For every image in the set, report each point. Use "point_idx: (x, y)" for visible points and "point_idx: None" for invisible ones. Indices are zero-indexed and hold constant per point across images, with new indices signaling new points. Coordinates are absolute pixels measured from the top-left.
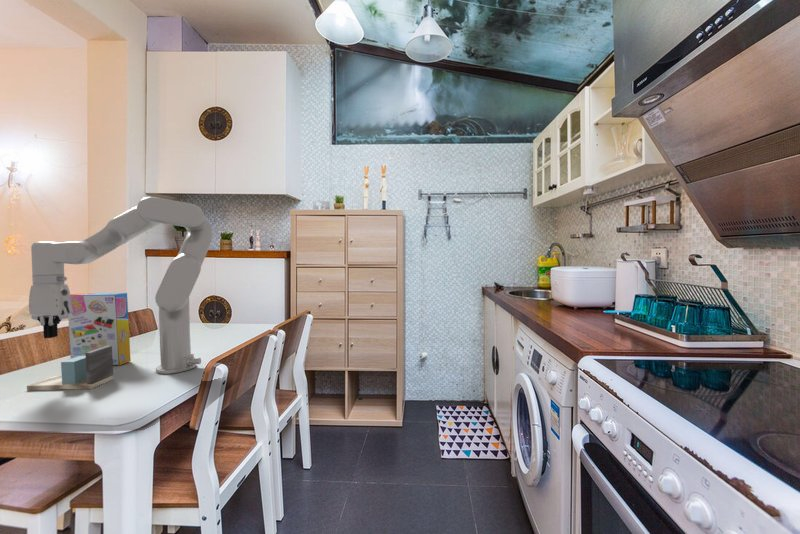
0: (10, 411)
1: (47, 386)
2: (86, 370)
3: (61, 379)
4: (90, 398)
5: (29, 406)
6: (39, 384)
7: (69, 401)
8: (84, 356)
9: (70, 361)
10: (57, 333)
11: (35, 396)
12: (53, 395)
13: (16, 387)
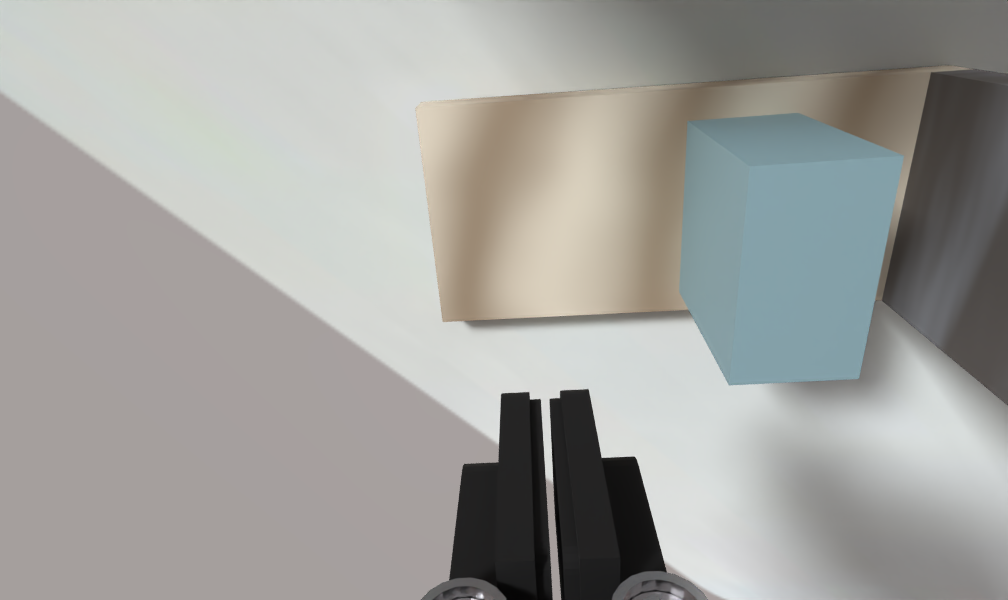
0: (669, 550)
1: (589, 311)
2: (948, 354)
3: (579, 192)
4: (983, 421)
5: (710, 506)
6: (511, 298)
7: (883, 456)
8: (834, 190)
9: (813, 369)
10: (591, 413)
11: (609, 393)
12: (710, 380)
13: (298, 249)
